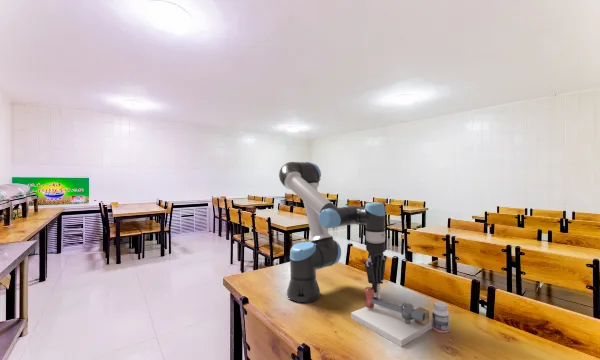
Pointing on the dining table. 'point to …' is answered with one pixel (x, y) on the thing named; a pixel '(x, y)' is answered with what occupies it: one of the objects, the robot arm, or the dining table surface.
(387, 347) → the dining table surface
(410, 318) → the lever
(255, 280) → the dining table surface
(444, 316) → the pill bottle
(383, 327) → the base
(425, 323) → the walnut block
